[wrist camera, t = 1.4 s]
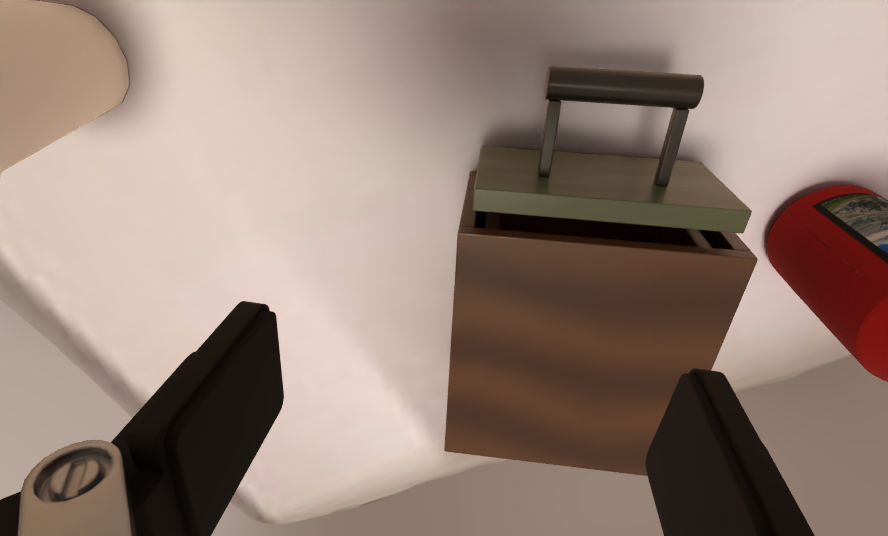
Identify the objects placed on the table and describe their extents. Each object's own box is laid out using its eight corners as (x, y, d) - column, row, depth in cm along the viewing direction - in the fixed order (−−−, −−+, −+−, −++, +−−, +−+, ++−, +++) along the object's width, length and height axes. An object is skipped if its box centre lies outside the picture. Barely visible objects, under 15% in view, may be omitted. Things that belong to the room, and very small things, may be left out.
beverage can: (907, 213, 30) (1113, 336, 20) (814, 292, 33) (949, 431, 23) (824, 159, 29) (996, 258, 19) (736, 245, 32) (842, 370, 22)
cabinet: (470, 170, 32) (457, 232, 24) (696, 188, 31) (758, 258, 23) (456, 360, 40) (444, 451, 32) (635, 379, 39) (666, 478, 31)
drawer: (488, 50, 27) (483, 71, 21) (731, 64, 26) (799, 91, 20) (465, 338, 38) (457, 408, 32) (639, 356, 37) (665, 432, 31)
